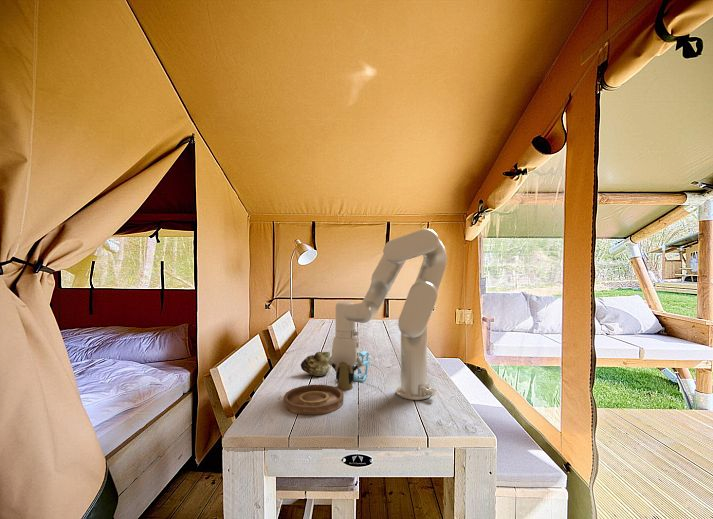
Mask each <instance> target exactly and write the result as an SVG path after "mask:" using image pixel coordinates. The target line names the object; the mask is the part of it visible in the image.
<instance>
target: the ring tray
mask: <svg viewBox="0 0 713 519" xmlns="http://www.w3.org/2000/svg"><path fill="white" fill-rule="evenodd" d="M283 404H284V405H283V406H284V408H285V410H286V411H288V412H290V413H293V414H296V415H300V416H319V415H326V414H329V413H330V414H331V413H332V412H335V411H337V410H338V409H340V408H341V407H342V406H343V405H344V392H343V390H340V389H338V388H337V386H336V387H335V386H333V385H326V384H308V385H307V384H306V385H301V386H298V387H294V388H292V389H290V390H289V391H287V392H285V394H284V396H283Z"/></svg>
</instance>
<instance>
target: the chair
mask: <svg viewBox="0 0 713 519" xmlns="http://www.w3.org/2000/svg"><path fill="white" fill-rule="evenodd" d="M369 355H370V352H369V351H367V350H364V351H360V350H359V358H360V357H361V358H360V360H361V361H362V363H363V365H362V366H361V367H364V366H365V372H364V375H363V372H362V370H361V367H359V368H358V369H357V371H358V373H356V374H355V373H354V381H353V382H357V383H358V382H360V383H365V382H366V379H367V377H368V371H369V366H370V363H371V360H370V359H369ZM365 356H366V358H365ZM364 358H365V359H364ZM357 364H358V363H357V362H356V364H355V365H354V366H356V365H357ZM362 375H363V377H362ZM358 377H362V378H363V379H362V378H358Z"/></svg>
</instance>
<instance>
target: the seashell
mask: <svg viewBox="0 0 713 519" xmlns="http://www.w3.org/2000/svg"><path fill="white" fill-rule="evenodd" d="M330 357H331V352H330V351H317V352H315V354H311V355H308V356H307V357H306V358H304V359H303V360H302V361H301V363H300V368H301V370H303V372H305V373H307V374H310V375H311V376H315V377H322V376H325V375H327V374H328V373H330V370H331V368H332V366H331V365H330V364H328V360H329V359H330Z"/></svg>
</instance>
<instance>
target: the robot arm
mask: <svg viewBox="0 0 713 519" xmlns="http://www.w3.org/2000/svg"><path fill="white" fill-rule="evenodd" d="M382 253H383V255H382V256H381V258H380V260H379V261H378V263H377V265H376V267H375V269H374V271H373V273H372V274H371V279H370V280H371V282H370V286H369V288H368V290H367V292H366V293H365V296H364V297H363V300H362V301H361V302H359V303H354V302H352V301H340V302H337V303H336V304H335V336H334V337H333V341H332V346H331V355H330V359H329V360H328V364H330V365H331V368H333V370H334V371H335V379H336V383H337V384H338V380H339V370H340V367H339V364H340V362H346V363H347V364H348V365H349V368H350V373H349V384H351V382H352V383H353V382H355V381H354V375H355V372H356V371H357V370H358V368H361V367H363V366H362V365H363V363H362V361H361V360H360V359H361V358H360V356H359V351H360V348H359V341H358V338H357V336H359V332H358V331H356V323H359V324H366V323H369V322H370V321H371V320H372V319H373V318H375V317H376V315H377V313H379V310H380V308H381V307H382V304H383V303H384V301H385V300H386V298H387V295H388V293H389V292H390V291H391V288H392V286H393V284H394V283H395V280H396V279H397V277H398V275H399V274H400V271H401V270H402V269H403V268H404V267H403V266H404V264H405V263H406V261H407V260H411V259H415V258H418V257H420V256H422V257H423V259H422V263H421V265H420V267H419V271H418V274H417V277H416V279H415V281H414V283H413V284H412V285H411V287H410V288H409V291H408V293H407V296H406V299H405V301H404V304H403V306H402V310H401V313H400V315H399V316H398V322H397V326H398V329H399V332H400V385H399V386H397V388H396V395H397V396H399V397H401V398H403V399H406V400H407V399H408V400H411V401H412V400H413V401H420V400H426V399H429V398H430V397H435V394H436V391H437V390H436V388H434V387H431V386H430V382H428V362H427V361H428V359H427V358H428V356H427V354H428V350H427V349H428V323H429V321H430V318H431V315H432V313H433V311H434V307H435V305H436V302H437V299H438V291H439V289H440V288H439V287H440V285H441V283H442V280H443V276H444V273H445V270H446V267H447V264H448V263H447V261H448V255H447V250H446V247H445V245H444V243H443V242H442V241H441V240H440V238H439V235H438V234H437V232H435V231H434V230H433V229H430V228H422V229H419V230H416V231H414V232H411V233H407V234H404V235H402V236H399V237H395V238H393V239H390V240H389V241H386V243H385V245H384V246H383V250H382ZM356 362H357V363H358V364H357V365H355V364H356Z"/></svg>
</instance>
